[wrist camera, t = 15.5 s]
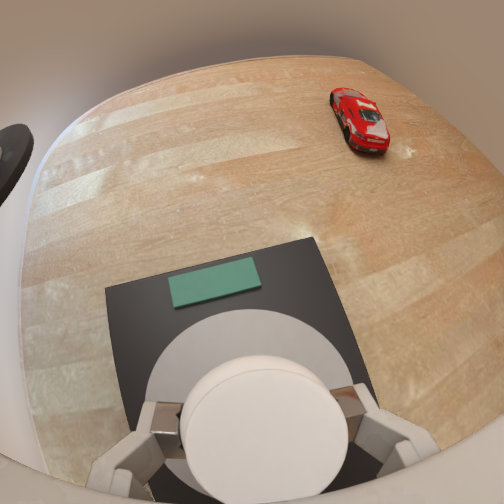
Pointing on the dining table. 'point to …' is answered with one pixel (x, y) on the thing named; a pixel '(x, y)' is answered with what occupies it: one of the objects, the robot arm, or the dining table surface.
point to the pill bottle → (262, 431)
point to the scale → (232, 340)
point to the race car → (360, 121)
